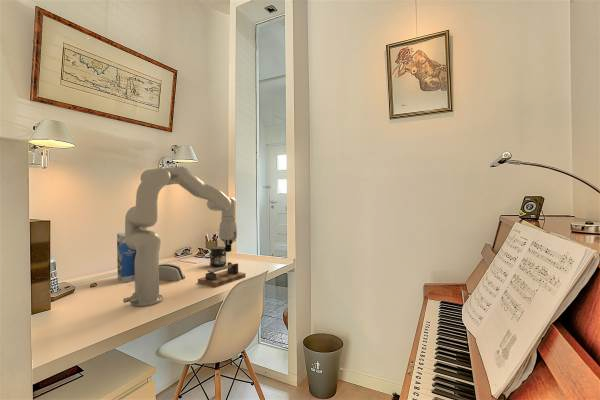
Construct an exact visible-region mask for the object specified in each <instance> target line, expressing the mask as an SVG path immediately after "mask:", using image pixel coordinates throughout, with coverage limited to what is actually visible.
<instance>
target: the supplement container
mask: <svg viewBox="0 0 600 400" xmlns="http://www.w3.org/2000/svg"><path fill="white" fill-rule="evenodd" d="M209 259H210V260H209V265H210V267H212V268H220V267H224V266H227V252H225V246H213V247H211V248H210V253H209Z"/></svg>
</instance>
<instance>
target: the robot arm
mask: <svg viewBox="0 0 600 400" xmlns="http://www.w3.org/2000/svg"><path fill="white" fill-rule="evenodd" d="M170 185H179V186H180V187H181V188H183V189H184V190H185V191H187V192H188V193H190V195H192V196H194V197H196V198H199V199H203V200H207V201H206V206H207V208H208V209H209V210H211V211H216V212H218V211H219V212H221V218H220V219H221V221H220V223H219V228H218V229H219V231H218V238H219V239H220V241H222V242H223V244H224V247H225V252H226V253H229V252H232V245H233V243H234V242H236V240H237V236H238V229H237V222H236V199H235V197H229V196H227V195H226V194H225V193H224V192H222V191H221V190H219V189H217V188H216V187H214V186H211V185H209V184H207V183H205V181H203V180H202V179H200V177H198V176H197V175H195V174H194V173H193V172H192V171H191V170H189V169H188V168H187V167H185V166H174V167H173V166H172V167H166V168H161V167H160V168H152V169H146V170H144V171H143V172H142V173H141V175H140V183H139V185H138V187H137V190H136V194H135V205H134V206H132V207H130V208H129V209H128V210H127V212H126V214H125V217H124V219H125V220H124V233H125V241H126V244H127V246H128V247H129V248H131V249H133V250H137V252H136V256H135V281H134V292H132V294H131V296H128V297H124V298H123V299H122V302H123V303H124V304H126V303H130V304H131V305H132V306H134V307H146V306H147V307H149V306H152V305H156V304H159V303H160V302H162V301H163V299H164V295H162V294H160V279H159V265H160V264H159V263H160V261H159V260H160V259H159V258H160V249H161V238H160V236H159V234H158V233H156V232H155V231H153V230H148V228H151V227H153V226H155V225H156V223H157V222H158V199H159V198H158V196H159V193H160V192H161V190H162V189H163V188H164V187H166V186H170Z"/></svg>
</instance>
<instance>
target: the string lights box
mask: <svg viewBox="0 0 600 400" xmlns="http://www.w3.org/2000/svg"><path fill="white" fill-rule="evenodd" d="M116 245H117V246H116V249H117V251H116V252H117V253H116V257H117V258H116V260H117V261H116V262H117V279H118V280H119V281H120V283H121V284H125V283H130V282H135V256H136V252H137V250H133V249H131V248H129V247H128V246H127V244H126V241H125V232H118V233H116Z"/></svg>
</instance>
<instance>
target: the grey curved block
mask: <svg viewBox="0 0 600 400" xmlns="http://www.w3.org/2000/svg"><path fill="white" fill-rule="evenodd" d="M183 279H186V275H185V274H184V273H183V270H182V268H181V266H179V265H176V264H173V263H160V264H159V280H164V281H165V280H169V281H180V280H181V281H182V280H183Z"/></svg>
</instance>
